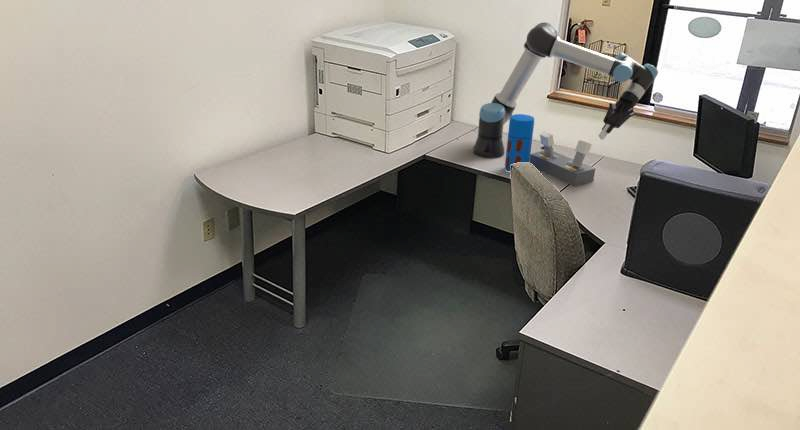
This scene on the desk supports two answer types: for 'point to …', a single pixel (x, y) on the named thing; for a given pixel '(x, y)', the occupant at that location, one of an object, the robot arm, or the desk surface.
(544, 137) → the inner lever
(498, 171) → the desk surface
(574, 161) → the outer lever
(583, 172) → the switch box
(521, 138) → the thermos
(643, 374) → the desk surface
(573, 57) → the robot arm
